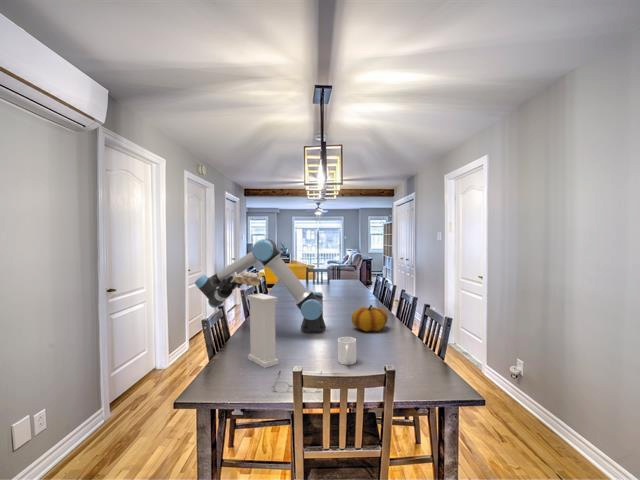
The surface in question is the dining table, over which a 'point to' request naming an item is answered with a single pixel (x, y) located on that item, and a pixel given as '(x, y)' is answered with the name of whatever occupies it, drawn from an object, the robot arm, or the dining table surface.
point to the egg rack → (248, 279)
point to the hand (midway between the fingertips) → (240, 273)
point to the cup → (346, 350)
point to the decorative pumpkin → (369, 318)
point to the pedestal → (262, 329)
